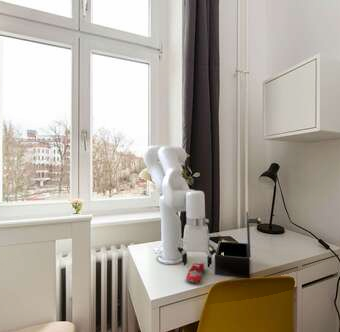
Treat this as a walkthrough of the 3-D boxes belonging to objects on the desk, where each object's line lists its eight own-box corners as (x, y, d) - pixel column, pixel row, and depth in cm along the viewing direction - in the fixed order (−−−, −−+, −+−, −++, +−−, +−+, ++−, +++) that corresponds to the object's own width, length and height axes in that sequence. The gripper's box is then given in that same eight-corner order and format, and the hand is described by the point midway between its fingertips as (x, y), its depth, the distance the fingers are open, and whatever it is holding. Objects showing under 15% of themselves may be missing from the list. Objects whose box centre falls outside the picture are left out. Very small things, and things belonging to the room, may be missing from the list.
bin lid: (246, 220, 86) (261, 220, 84) (246, 211, 103) (258, 211, 101) (248, 257, 85) (263, 258, 84) (247, 242, 102) (260, 243, 101)
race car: (198, 286, 80) (198, 275, 80) (184, 283, 82) (184, 273, 82) (206, 270, 93) (206, 260, 93) (194, 268, 94) (194, 259, 94)
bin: (215, 274, 88) (214, 255, 89) (219, 257, 106) (219, 241, 106) (249, 278, 85) (249, 258, 85) (248, 260, 102) (248, 243, 102)
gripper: (218, 220, 89) (219, 263, 88) (177, 219, 93) (178, 259, 92) (216, 224, 81) (217, 271, 81) (172, 223, 86) (173, 267, 85)
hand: (197, 265), depth 87 cm, fingers open, 9 cm apart
